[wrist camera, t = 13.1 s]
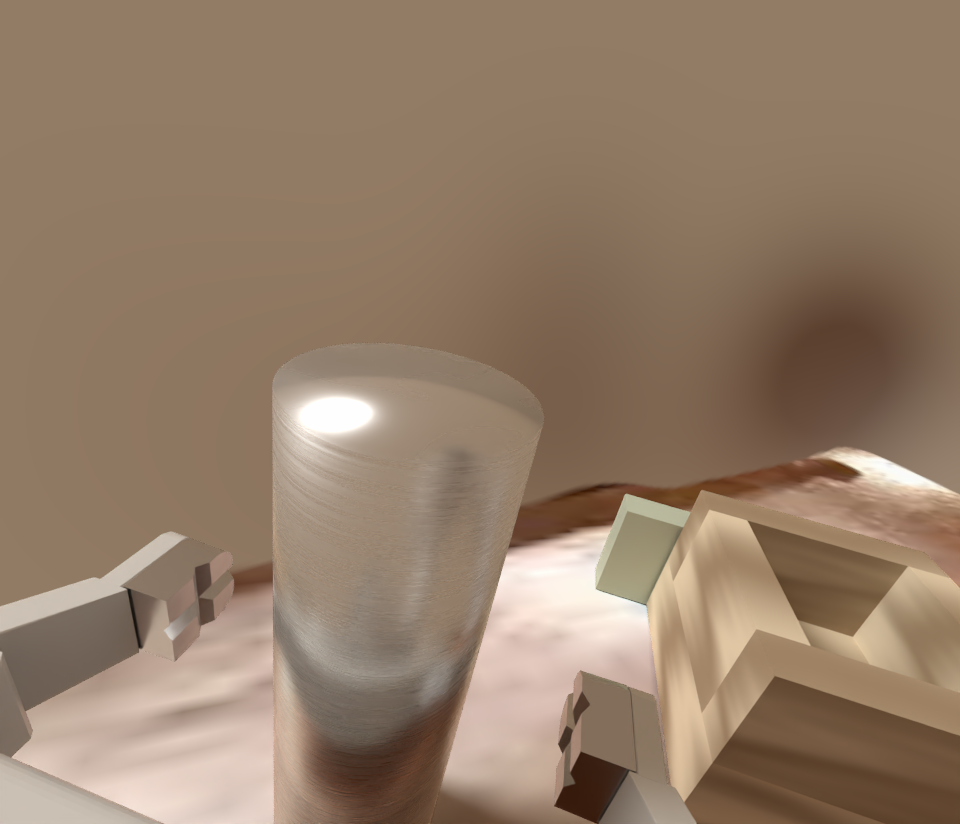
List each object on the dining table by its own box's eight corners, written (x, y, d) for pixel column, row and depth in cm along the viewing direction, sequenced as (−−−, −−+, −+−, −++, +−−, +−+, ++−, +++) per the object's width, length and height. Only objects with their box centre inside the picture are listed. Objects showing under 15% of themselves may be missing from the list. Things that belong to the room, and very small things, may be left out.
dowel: (376, 733, 15) (437, 337, 10) (450, 852, 13) (595, 422, 7) (250, 824, 13) (229, 352, 7) (315, 997, 10) (368, 498, 4)
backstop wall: (888, 681, 22) (954, 606, 20) (595, 588, 23) (627, 511, 21) (871, 654, 23) (931, 581, 21) (595, 568, 25) (625, 493, 23)
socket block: (979, 928, 14) (1174, 805, 11) (674, 815, 15) (775, 676, 12) (836, 664, 22) (924, 552, 19) (646, 604, 23) (701, 490, 20)
